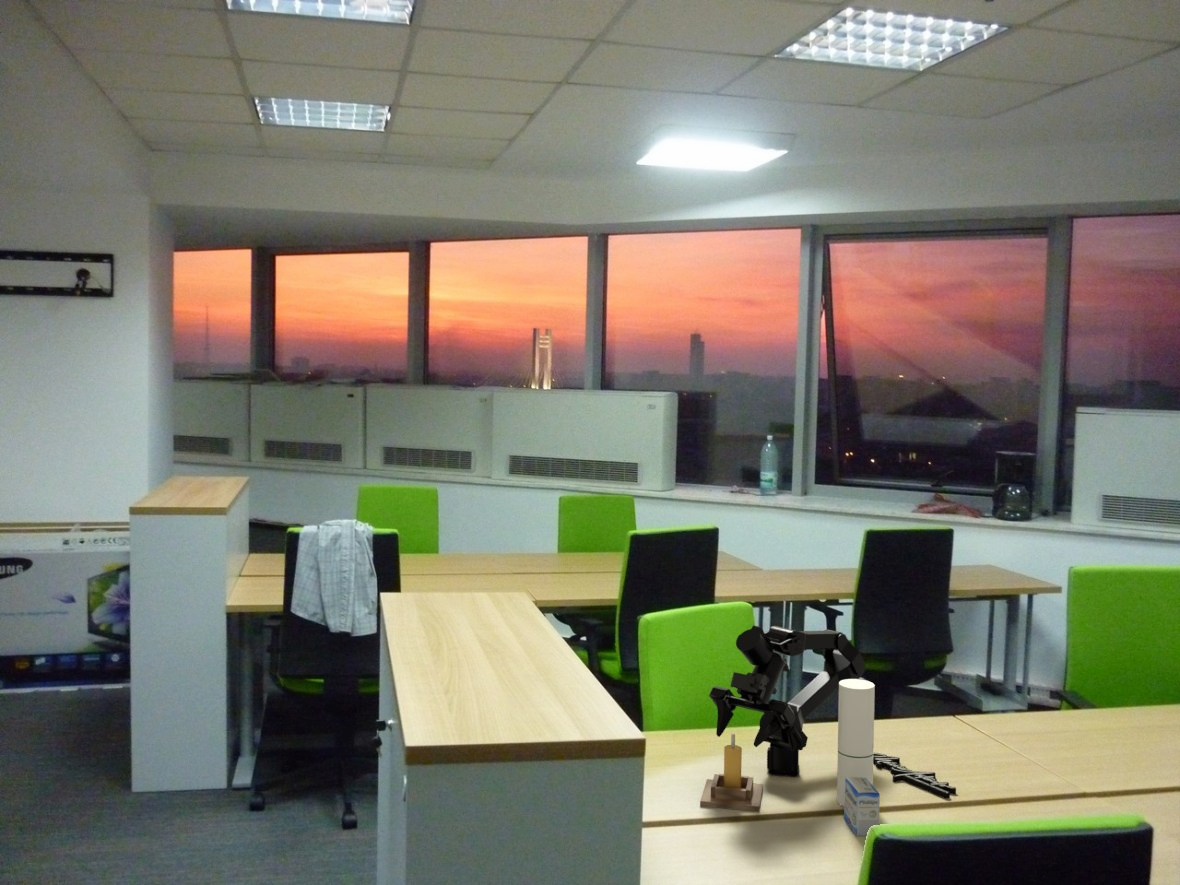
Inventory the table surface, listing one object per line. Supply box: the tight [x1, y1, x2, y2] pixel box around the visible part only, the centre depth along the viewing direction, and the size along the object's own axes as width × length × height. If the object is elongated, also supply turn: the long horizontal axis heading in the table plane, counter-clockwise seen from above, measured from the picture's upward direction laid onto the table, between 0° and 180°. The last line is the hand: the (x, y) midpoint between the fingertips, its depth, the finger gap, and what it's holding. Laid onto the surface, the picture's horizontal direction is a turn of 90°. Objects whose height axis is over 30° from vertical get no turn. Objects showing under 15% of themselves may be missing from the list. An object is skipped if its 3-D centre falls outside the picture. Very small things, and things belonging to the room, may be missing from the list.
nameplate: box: [873, 752, 957, 800], centre depth 230 cm, size 27×2×10 cm
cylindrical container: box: [836, 678, 876, 807], centre depth 214 cm, size 7×7×25 cm
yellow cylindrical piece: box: [723, 732, 743, 789], centre depth 217 cm, size 4×4×12 cm
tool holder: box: [699, 773, 764, 812], centre depth 218 cm, size 12×12×3 cm
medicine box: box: [843, 777, 881, 837], centre depth 203 cm, size 8×4×9 cm, turn 5°
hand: (736, 740), depth 218 cm, fingers open, 9 cm apart
